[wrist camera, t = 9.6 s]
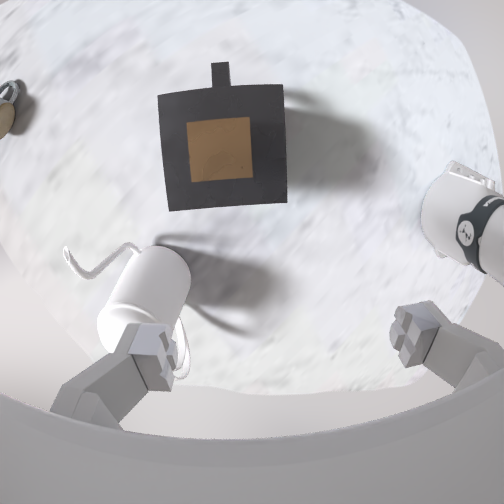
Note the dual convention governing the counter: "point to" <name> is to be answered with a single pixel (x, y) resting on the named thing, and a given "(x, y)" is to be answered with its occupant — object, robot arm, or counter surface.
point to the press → (221, 107)
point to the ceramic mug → (7, 109)
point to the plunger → (220, 149)
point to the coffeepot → (143, 295)
